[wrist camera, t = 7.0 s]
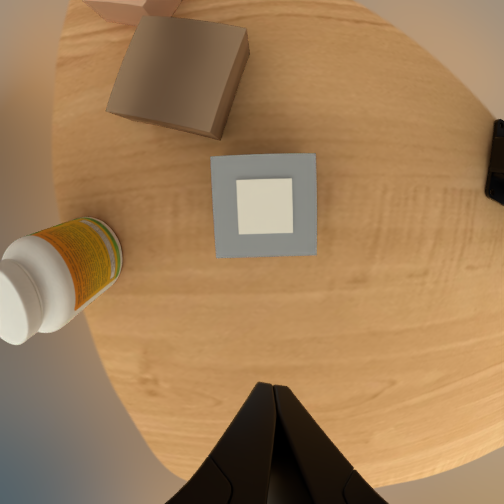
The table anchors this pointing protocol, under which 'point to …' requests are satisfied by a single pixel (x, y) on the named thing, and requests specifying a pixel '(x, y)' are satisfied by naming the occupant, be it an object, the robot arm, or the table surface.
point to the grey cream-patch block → (264, 205)
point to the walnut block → (181, 74)
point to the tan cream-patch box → (132, 9)
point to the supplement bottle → (55, 276)
